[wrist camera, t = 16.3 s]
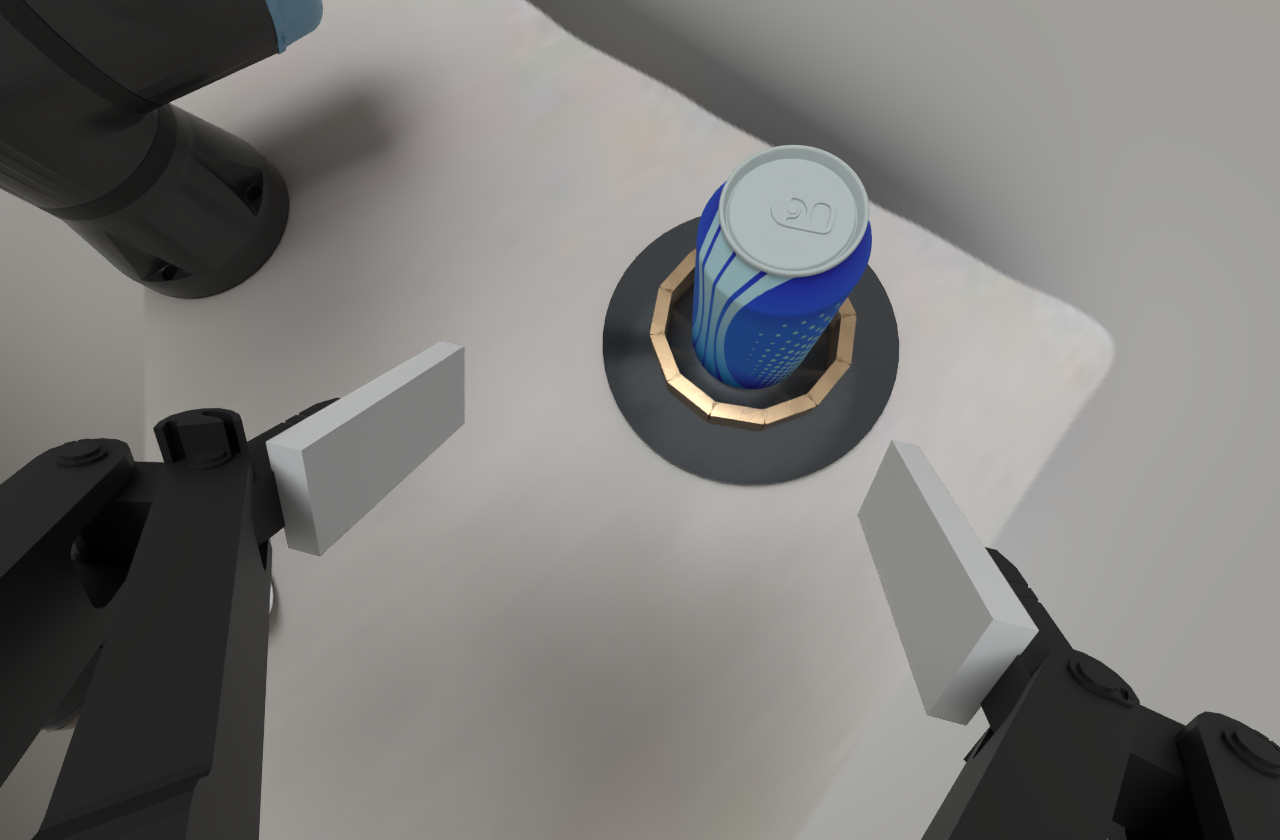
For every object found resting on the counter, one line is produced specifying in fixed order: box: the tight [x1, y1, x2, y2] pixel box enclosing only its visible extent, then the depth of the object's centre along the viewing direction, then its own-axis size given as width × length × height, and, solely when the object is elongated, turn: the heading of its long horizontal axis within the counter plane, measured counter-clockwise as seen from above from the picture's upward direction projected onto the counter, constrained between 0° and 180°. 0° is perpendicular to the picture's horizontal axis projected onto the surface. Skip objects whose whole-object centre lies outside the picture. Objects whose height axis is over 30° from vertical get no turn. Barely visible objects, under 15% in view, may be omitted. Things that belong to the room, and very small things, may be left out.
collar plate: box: [603, 217, 899, 486], centre depth 37 cm, size 22×22×4 cm
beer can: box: [692, 145, 872, 390], centre depth 30 cm, size 8×8×16 cm
